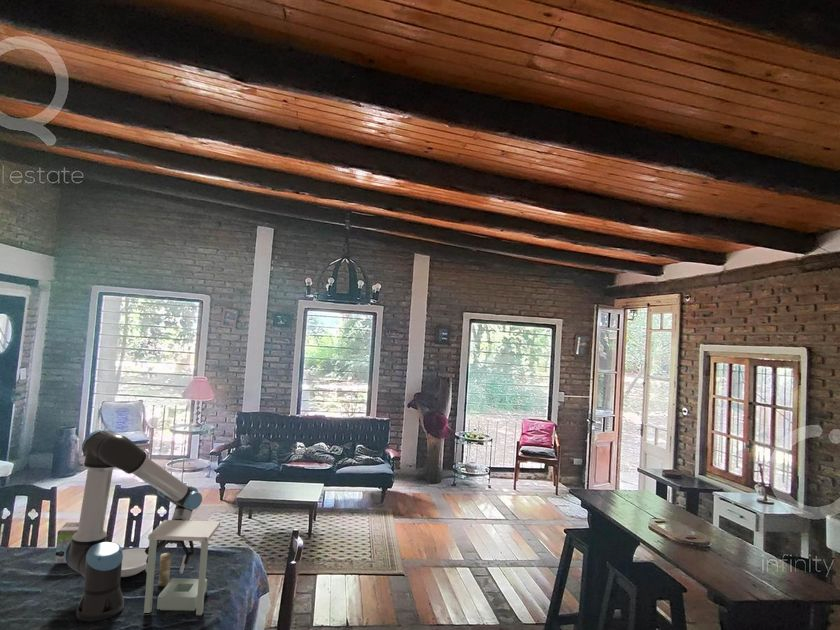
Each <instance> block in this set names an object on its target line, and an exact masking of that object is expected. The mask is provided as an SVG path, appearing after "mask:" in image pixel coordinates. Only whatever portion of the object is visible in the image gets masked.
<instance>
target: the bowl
mask: <svg viewBox="0 0 840 630" xmlns="http://www.w3.org/2000/svg"><path fill="white" fill-rule="evenodd" d="M146 549H147V548H141V547H140V548H129V549H122V554H123V559H122V568H121V578H128V577H132V576H135V575H137V574H140V573H141V572H143V571H144V570H146V567H147V563H146V560H147V557H148V554H146V553H145V550H146Z"/></svg>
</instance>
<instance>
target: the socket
mask: <svg viewBox="0 0 840 630" xmlns="http://www.w3.org/2000/svg"><path fill="white" fill-rule="evenodd" d="M220 526H221V521H214V520H213V521H211V520H210V521H208V520H207V521H205V520H190V521H184V520H172V519H164V520H163V521H162V522H161V523H160V524H158V525H157V526H156V527H155V529H154V530H153V531H151V533H149V534H148V536H147V540H148V541H149V542H148V546H149V552H148V565H147V572H146V579H145V595H144V607H143V614H144V613H150V612H151V613H152V609H153V608H152V607H153V595H154V586H155V585H154V584H155V573H156V570H155V569H156V559H157V558H156V557H157V552H156V547H157V545H158V544H157V540H160V541H163V540H182V541H183V542H185V541H186V542H187V541H188V542H189V541H193V542H200V543H201V544H200V556H199V557H200V558H199V567H198V569H199V571H198V578H180V577H179V578H178V577H172V578H171V579H169V583H168V584H167V585H166V586H164V588H163V589H162V590H161V591H160V593H159V595H158V596H157V602H156V603H157V604H156V605H157V606H156V610H157V609H158V610H159V609H160V610H159V611H195V615H196V616H202V614H203V613H204V602H205V595H206V592H207V588H208V579H207V566H208V565H207V564H208V552H209V541H210V540H211V538H212V537H213V535H214V534H215V533H216V531H218V529H219V528H220ZM158 610H157V611H158ZM151 613H150V614H151Z"/></svg>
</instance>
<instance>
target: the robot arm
mask: <svg viewBox="0 0 840 630" xmlns="http://www.w3.org/2000/svg"><path fill="white" fill-rule="evenodd" d="M81 451H82V453H83V455H84V464H83V467H85V469H87V474H86V478H85V484H84V485H85V486H84V491H83V498H82V502H81V510H80V516H79V527H78V531H77V532H76V533H75V534H74V535H73V536H72V540H71V542H70V543H69V544H68V545H67V546H66V548H65V551H64V560H65V562H66V563H65V564H67V566H68V567H69V568H70V569H72V570H73V571H75V572H77V573H78V574H80V576H82V577H83V578H84V584H83V585H84V586H83V587H84V588H83V594H82V596H81V598H80V601H79V603H78V605H77V608H76V618H77V619H78V620H79V621H83V622H99V621H104V620H107V619H110V618H112V617H114V616H116V615H118V614H119V613H120V612H121V611H122V610H123V608H124V605H125V604H124V603H125V599H124V598H125V597H124V595H123V591H122V589H121V581H122V580H121V578H122V577H121V568H122V559H123V554H122V550H123V547H121V545H120V544H118V543H116V542H109V541H107V536H108V534H107V532H106V531H105V530H104V526H105V523H106V522H105V521H106V515H107V509H108V508H107V507H108V501H109V496H110V489H111V483H112V476H113V471H114V469H119V470H121V471H123V472H124V473H126V474H128V475H129V474H130V475H131V474H133V475H134V476H136V477H137V478H139V479H140V480H142V481H144V482H145V483H146V484H148V485H149V486H151V487H153V489H155V490H156V493H157V495H158V496H160V498H163V499H165V500H167V502H170V503H172V504H173V505H175V507H174V508H175V509H174V511H173V514H172V517H171V520H184V521H191V518H192V514H193V512H194V510H197V509H198V508H199V507H200V506H201V505H202V502H203V495H202V494H201V492H199V490H198V488H197V487H194V486H192V485H187V484H185V483H184V482H183V481H182V480H180V479H178V478H177V477H176V476H175V475H173V474H171V473H170V472H168V470H166V469H164V468H163V467H162V466H160V465H159V464H158V463H156V462H155V461H154V460H152V459H150V458H149V457H147V456H148V454H147V452H145V451H144V450H143V449H141V447H139V446H138V445H137V444H135V443H134V442H133V441H132V440H131V439H129V438H128V437H127V436H125V435H122V434H120V433H116V432H114V431H112V430H109V429H97V430H94V431H92V432H90V433H89V434H88V435H86V436H85V438H84V440H83V441H82V444H81ZM168 544H171V545H172V544H176V545H177V544H180V545H181V547H182V549H183V551H184V552H185V554H184V555H183V558H182V561H181V565H180V567H179V574H181V575H182V574H183V573H184V570H185V566H186V565H188V563H189V561H190V557H192V556H194V557H195V555H196V551H195V545H194V541H188V544H189V548H190V551H189V550H188V547H187V546H186V544H185V541H182V540H157V547H156V553H158V552H159V551H160V550H161V549H162V548H164V547H165V546H167V545H168ZM145 549H146V550H145V553H146V554H148V552H149V545H148V546H147V548H145ZM146 563H147V565H148V557H147V560H146ZM144 570H145V572H146V573H147V567H146V569H144Z"/></svg>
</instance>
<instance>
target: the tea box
mask: <svg viewBox="0 0 840 630" xmlns="http://www.w3.org/2000/svg"><path fill="white" fill-rule="evenodd" d="M78 527H79V522H78V521H77V522H72V521H71V522H70V521H69V522H65V523H64V525H63V526H61V528H59V529H58V531H57V533H56V534H57V536H56V546H55V555H54V556H55V558H54V564H57V565H58V564H67V563H66V562H65V560H64V551H65V548H66V546H67V545H68V544H69V543H70V542H71V540H72V536H73V535H74V534H75V533H76V532H77V531H78Z"/></svg>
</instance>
